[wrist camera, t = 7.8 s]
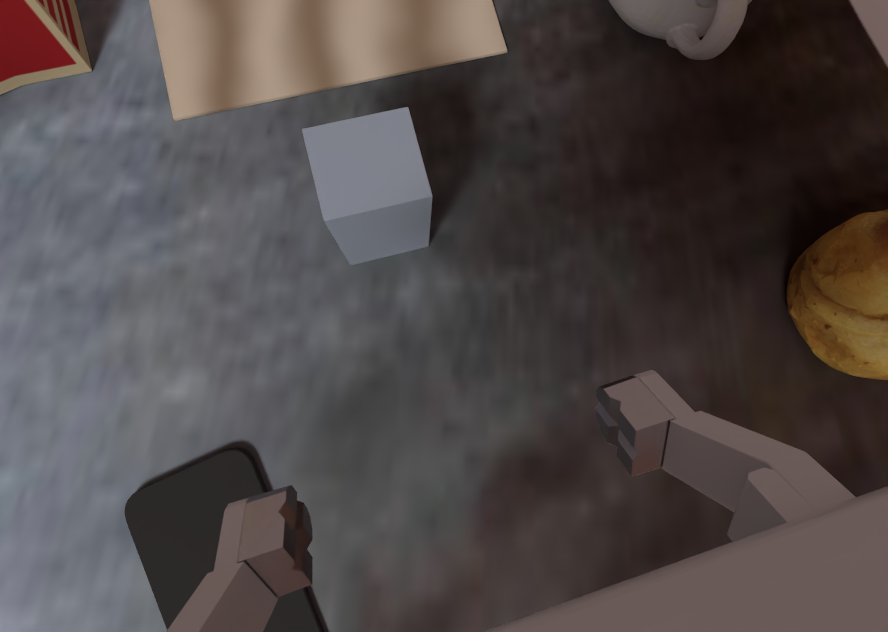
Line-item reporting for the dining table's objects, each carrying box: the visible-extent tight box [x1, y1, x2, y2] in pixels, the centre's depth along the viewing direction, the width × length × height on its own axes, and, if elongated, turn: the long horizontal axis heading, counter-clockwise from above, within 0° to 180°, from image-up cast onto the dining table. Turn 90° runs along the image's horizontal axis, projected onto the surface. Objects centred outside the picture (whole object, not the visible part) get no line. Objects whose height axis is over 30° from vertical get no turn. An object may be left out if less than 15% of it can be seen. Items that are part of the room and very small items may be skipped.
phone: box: [125, 448, 324, 632], centre depth 25 cm, size 7×1×15 cm
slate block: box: [302, 107, 432, 265], centre depth 25 cm, size 5×4×8 cm
